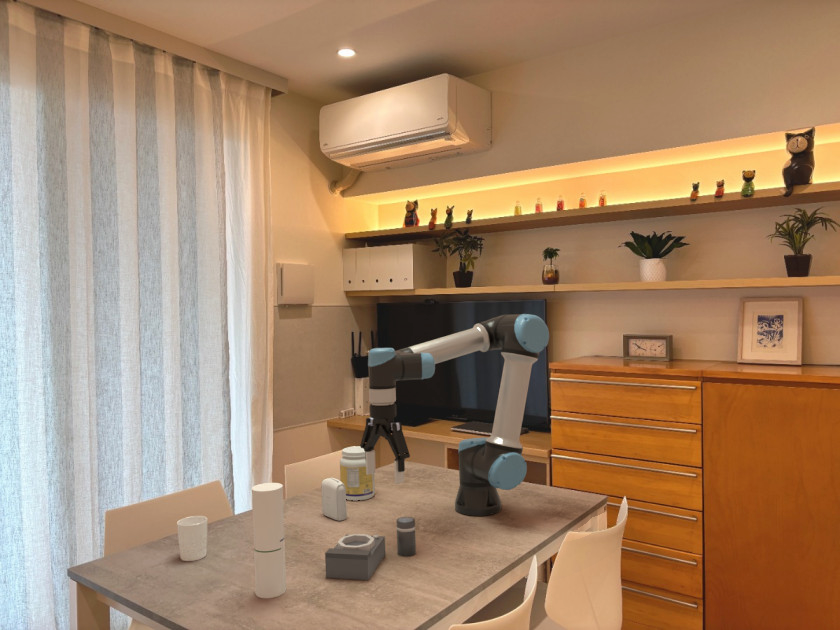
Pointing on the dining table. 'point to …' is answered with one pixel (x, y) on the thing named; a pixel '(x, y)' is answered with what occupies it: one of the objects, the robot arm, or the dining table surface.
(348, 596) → the dining table surface
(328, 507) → the photo printer
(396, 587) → the dining table surface
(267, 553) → the cylindrical container
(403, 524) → the lens
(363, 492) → the supplement tub
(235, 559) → the dining table surface
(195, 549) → the white cup
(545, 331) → the robot arm
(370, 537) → the camera body
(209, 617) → the dining table surface
